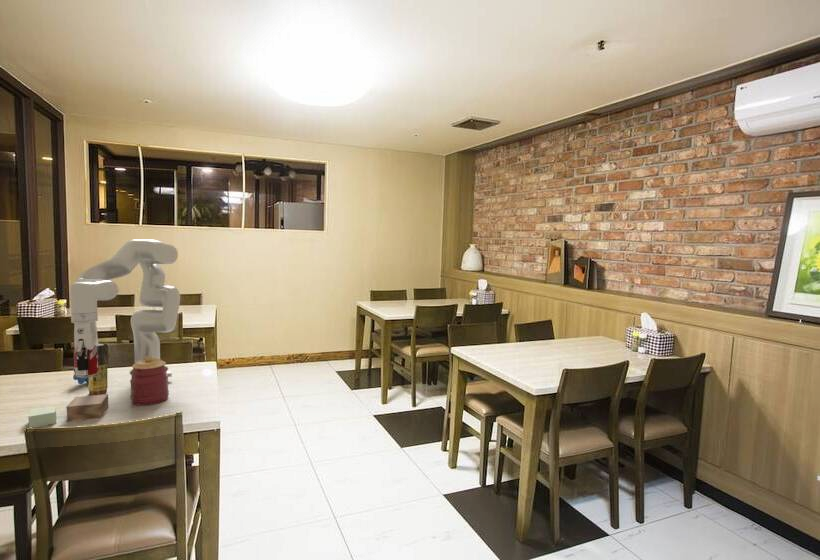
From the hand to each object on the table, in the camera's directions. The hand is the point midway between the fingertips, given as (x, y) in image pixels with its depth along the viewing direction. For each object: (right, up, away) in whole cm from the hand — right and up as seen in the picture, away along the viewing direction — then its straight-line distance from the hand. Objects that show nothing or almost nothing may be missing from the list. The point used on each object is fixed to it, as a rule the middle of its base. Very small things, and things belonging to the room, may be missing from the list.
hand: (86, 366), depth 161 cm
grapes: (-25, -14, +35) cm, 45 cm away
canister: (+13, -16, +17) cm, 27 cm away
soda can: (0, -3, 0) cm, 3 cm away
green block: (-10, -18, -7) cm, 21 cm away
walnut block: (0, -17, +2) cm, 17 cm away
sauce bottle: (-11, -15, +22) cm, 29 cm away
